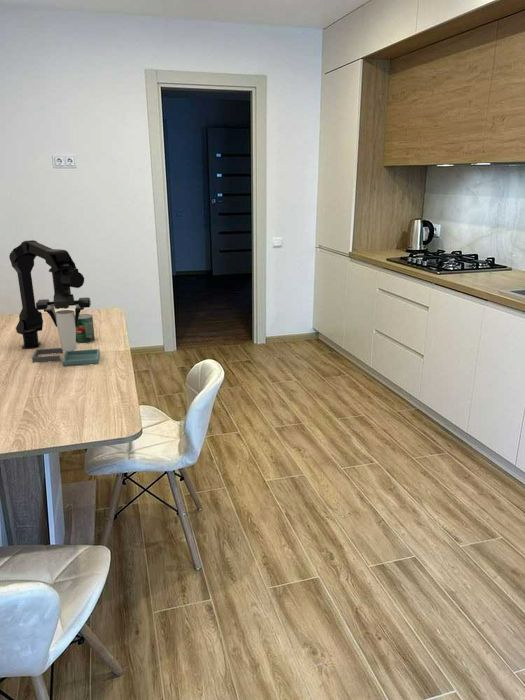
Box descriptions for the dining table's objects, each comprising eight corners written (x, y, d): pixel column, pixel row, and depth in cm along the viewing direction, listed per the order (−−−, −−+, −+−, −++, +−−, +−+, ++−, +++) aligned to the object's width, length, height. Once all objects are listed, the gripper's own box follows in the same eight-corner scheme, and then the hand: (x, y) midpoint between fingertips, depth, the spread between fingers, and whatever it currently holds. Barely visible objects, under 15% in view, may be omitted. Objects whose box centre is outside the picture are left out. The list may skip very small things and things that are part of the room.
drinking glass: (72, 353, 194) (67, 314, 190) (56, 352, 196) (51, 313, 191) (82, 347, 201) (77, 310, 196) (66, 346, 202) (61, 309, 197)
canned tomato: (97, 338, 226) (95, 314, 222) (90, 344, 218) (87, 318, 215) (80, 338, 227) (77, 313, 223) (72, 343, 219) (69, 318, 216)
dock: (36, 354, 205) (36, 349, 204) (63, 352, 207) (62, 347, 206) (32, 362, 195) (31, 357, 194) (60, 360, 197) (59, 355, 197)
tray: (66, 356, 203) (65, 351, 202) (99, 353, 206) (99, 349, 205) (62, 366, 191) (62, 361, 191) (98, 364, 194) (97, 359, 194)
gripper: (30, 290, 181) (36, 333, 186) (86, 287, 185) (90, 329, 190) (36, 284, 191) (41, 325, 196) (88, 282, 196) (92, 322, 200)
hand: (66, 325), depth 195 cm, fingers closed on drinking glass, 7 cm apart
